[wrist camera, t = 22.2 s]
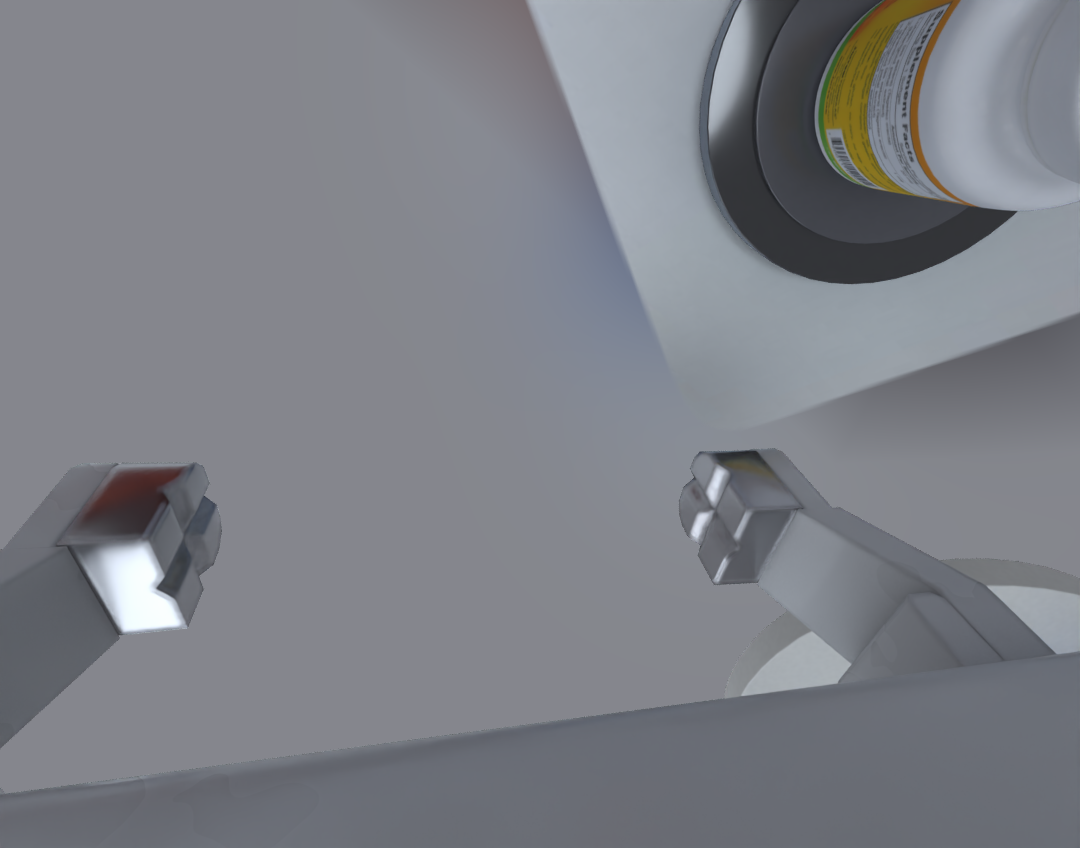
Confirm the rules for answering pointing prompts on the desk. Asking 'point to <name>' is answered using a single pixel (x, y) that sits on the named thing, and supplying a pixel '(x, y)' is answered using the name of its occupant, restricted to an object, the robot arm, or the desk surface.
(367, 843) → the robot arm
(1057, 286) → the desk surface
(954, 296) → the desk surface
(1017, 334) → the desk surface
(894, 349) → the desk surface
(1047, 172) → the supplement bottle
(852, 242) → the hot plate
